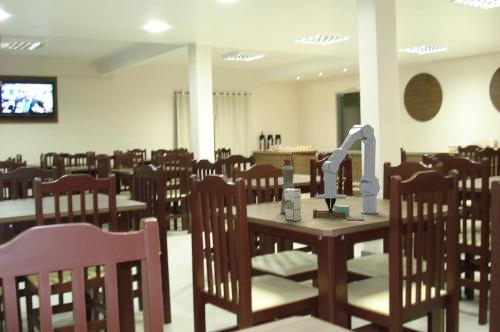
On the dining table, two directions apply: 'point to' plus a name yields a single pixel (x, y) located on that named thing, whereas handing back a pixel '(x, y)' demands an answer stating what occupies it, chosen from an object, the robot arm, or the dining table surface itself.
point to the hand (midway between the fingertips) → (330, 214)
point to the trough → (326, 214)
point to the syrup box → (292, 204)
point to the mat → (354, 218)
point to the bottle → (287, 180)
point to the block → (342, 209)
